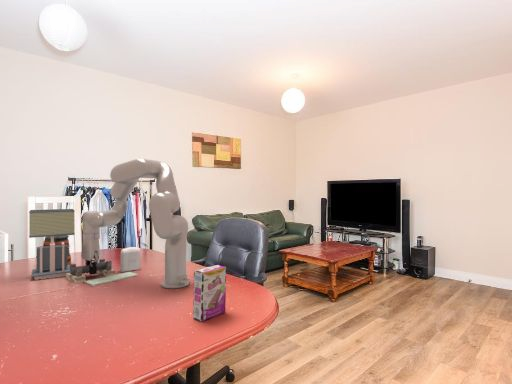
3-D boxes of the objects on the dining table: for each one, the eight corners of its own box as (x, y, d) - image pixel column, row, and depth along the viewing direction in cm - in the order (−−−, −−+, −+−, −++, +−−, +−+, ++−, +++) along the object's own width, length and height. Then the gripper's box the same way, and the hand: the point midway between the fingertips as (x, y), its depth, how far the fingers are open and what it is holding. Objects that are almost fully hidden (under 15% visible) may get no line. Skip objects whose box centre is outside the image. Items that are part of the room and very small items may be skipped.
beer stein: (39, 262, 182) (39, 228, 182) (68, 259, 191) (68, 226, 191) (41, 269, 167) (41, 232, 167) (72, 265, 176) (72, 230, 176)
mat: (137, 275, 156) (137, 274, 156) (92, 285, 139) (92, 284, 139) (129, 272, 161) (129, 271, 161) (84, 282, 144) (84, 281, 144)
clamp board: (114, 275, 157) (115, 261, 157) (76, 283, 143) (76, 268, 143) (103, 271, 164) (103, 257, 164) (66, 278, 150) (66, 264, 150)
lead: (106, 268, 161) (106, 261, 161) (110, 268, 159) (109, 261, 159) (71, 275, 148) (70, 267, 148) (74, 275, 146) (74, 267, 146)
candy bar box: (202, 322, 101) (202, 272, 101) (192, 318, 105) (192, 270, 104) (226, 312, 110) (226, 266, 110) (216, 309, 113) (217, 264, 113)
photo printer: (138, 268, 171) (138, 245, 171) (141, 269, 168) (141, 246, 168) (119, 271, 164) (119, 247, 164) (122, 272, 161) (122, 249, 161)
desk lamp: (72, 269, 167) (72, 208, 167) (74, 275, 155) (74, 210, 155) (30, 274, 157) (30, 209, 157) (29, 281, 145) (29, 211, 145)
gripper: (76, 235, 156) (75, 272, 156) (90, 239, 145) (90, 278, 145) (91, 234, 161) (91, 269, 161) (106, 237, 151) (106, 274, 151)
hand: (91, 273), depth 153 cm, fingers closed on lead, 3 cm apart
